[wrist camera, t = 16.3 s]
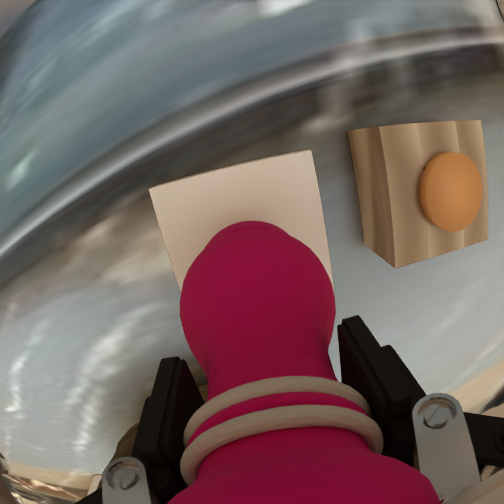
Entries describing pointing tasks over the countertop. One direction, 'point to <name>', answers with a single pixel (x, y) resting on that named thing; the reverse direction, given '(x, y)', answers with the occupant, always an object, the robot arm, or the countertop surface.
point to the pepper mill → (277, 385)
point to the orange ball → (451, 191)
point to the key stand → (411, 187)
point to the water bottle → (94, 483)
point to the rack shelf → (241, 205)
